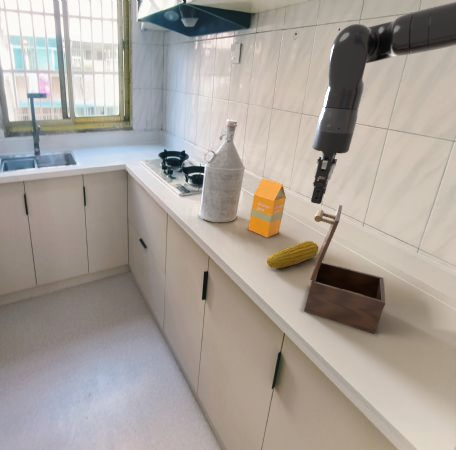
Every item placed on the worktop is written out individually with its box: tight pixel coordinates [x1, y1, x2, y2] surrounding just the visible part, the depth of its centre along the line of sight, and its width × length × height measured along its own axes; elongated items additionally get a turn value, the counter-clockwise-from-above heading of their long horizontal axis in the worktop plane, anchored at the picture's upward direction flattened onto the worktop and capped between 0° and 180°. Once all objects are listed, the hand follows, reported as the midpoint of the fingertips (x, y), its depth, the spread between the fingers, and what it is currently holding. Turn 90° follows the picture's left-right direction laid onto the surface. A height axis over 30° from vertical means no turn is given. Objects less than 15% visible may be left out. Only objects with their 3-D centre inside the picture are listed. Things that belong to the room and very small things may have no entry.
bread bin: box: [303, 261, 386, 334], centre depth 86 cm, size 16×13×9 cm
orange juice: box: [248, 178, 287, 238], centre depth 127 cm, size 8×9×20 cm
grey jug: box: [198, 118, 246, 223], centre depth 135 cm, size 13×17×40 cm
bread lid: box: [310, 204, 343, 281], centre depth 85 cm, size 16×13×5 cm
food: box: [266, 240, 319, 269], centre depth 108 cm, size 21×6×6 cm, turn 121°
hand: (318, 198), depth 82 cm, fingers open, 8 cm apart
